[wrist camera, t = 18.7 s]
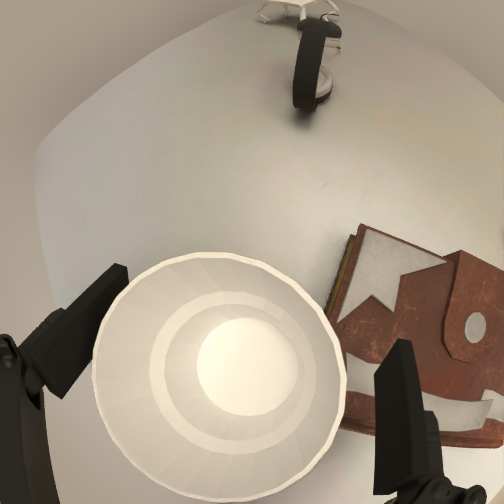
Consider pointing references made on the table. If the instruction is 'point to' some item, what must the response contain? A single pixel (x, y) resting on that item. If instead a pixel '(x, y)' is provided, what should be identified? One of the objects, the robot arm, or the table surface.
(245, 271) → the cup
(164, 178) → the table surface
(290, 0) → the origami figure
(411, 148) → the table surface
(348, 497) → the table surface
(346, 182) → the table surface
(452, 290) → the book
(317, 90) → the headphones
